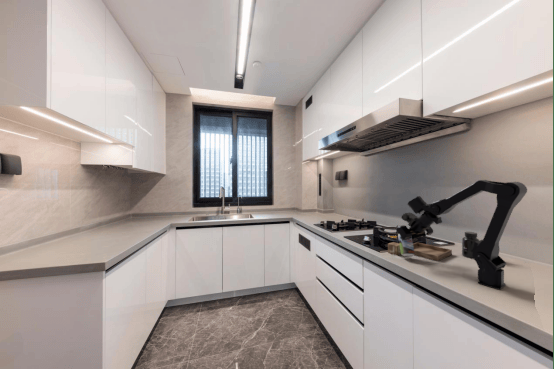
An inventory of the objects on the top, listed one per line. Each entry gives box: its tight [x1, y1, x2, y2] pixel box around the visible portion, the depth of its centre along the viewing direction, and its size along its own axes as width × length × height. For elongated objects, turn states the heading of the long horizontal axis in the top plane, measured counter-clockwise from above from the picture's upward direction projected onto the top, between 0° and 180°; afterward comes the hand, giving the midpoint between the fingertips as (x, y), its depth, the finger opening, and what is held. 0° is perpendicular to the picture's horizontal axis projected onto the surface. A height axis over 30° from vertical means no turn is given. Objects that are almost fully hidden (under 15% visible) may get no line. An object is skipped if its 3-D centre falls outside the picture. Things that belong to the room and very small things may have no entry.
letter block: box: [387, 241, 401, 256], centre depth 126 cm, size 5×5×5 cm
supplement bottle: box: [461, 231, 480, 259], centre depth 118 cm, size 7×7×12 cm
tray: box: [413, 242, 453, 262], centre depth 124 cm, size 17×15×2 cm
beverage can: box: [397, 233, 415, 257], centre depth 119 cm, size 6×7×12 cm
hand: (404, 239), depth 121 cm, fingers closed on beverage can, 6 cm apart
